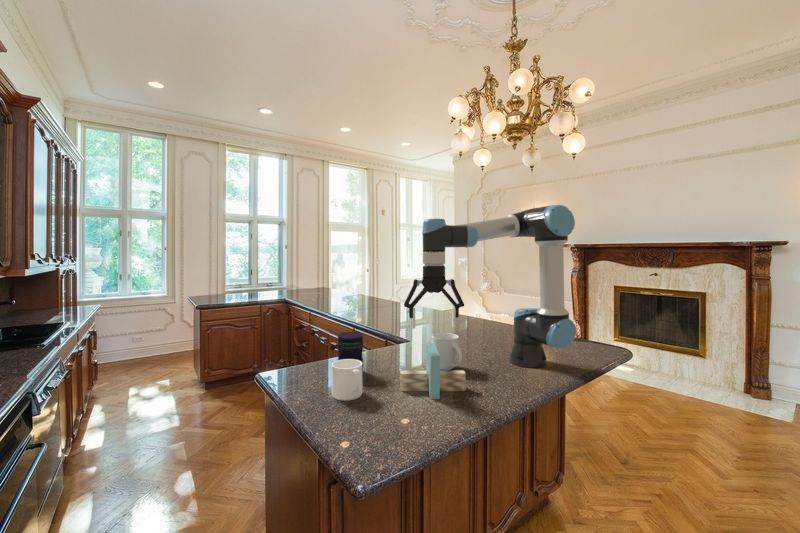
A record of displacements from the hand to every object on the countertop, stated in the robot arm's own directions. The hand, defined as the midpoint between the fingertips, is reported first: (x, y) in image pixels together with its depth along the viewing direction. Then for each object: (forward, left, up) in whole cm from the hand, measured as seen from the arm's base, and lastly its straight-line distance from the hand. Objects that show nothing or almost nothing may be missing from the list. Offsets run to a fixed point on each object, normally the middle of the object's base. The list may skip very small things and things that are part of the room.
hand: (433, 327), depth 120 cm
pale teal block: (0, 0, -21) cm, 21 cm away
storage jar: (+30, -16, -22) cm, 40 cm away
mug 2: (-8, -21, -22) cm, 31 cm away
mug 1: (+28, +5, -22) cm, 36 cm away
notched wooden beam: (0, 0, -21) cm, 21 cm away
